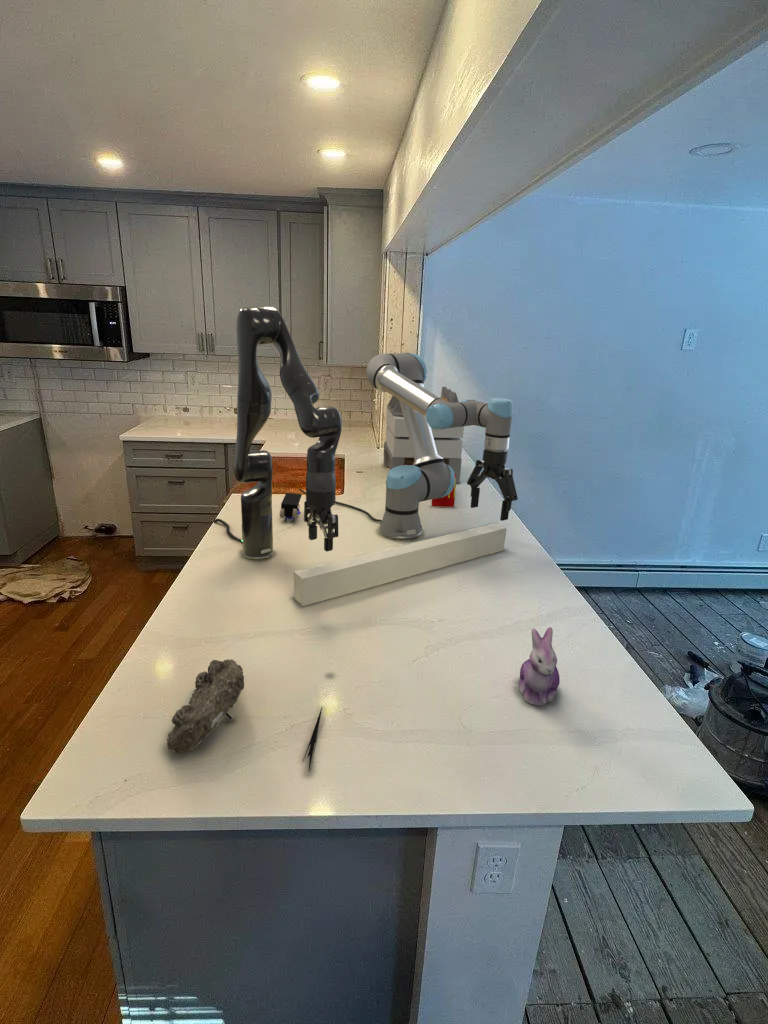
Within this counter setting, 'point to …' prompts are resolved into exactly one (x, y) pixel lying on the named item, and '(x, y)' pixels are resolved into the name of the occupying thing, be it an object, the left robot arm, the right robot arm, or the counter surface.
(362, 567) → the beam
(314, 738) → the feather
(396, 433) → the grey wooden crate
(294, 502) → the figurine character
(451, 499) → the toy
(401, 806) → the counter surface
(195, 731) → the fossil
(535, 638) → the figurine
